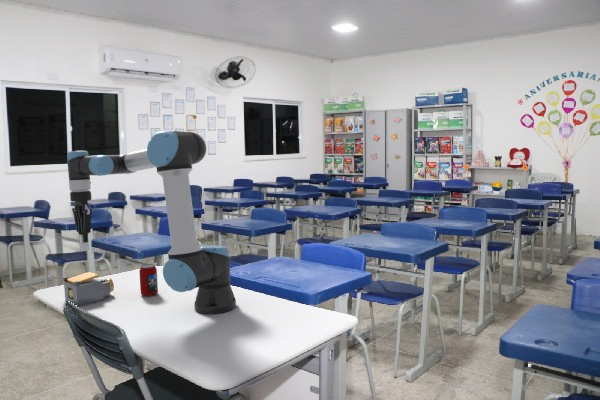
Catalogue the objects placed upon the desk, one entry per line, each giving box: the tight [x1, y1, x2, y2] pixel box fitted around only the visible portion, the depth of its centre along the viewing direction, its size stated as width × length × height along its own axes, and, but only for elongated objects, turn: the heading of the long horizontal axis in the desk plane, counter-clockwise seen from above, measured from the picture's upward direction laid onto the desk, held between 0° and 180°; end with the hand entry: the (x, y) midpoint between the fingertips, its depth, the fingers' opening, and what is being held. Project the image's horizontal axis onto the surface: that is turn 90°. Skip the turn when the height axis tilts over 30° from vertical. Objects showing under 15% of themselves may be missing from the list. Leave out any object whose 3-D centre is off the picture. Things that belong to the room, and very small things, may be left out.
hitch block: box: [62, 276, 111, 307], centre depth 193 cm, size 12×14×10 cm
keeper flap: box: [67, 271, 99, 284], centre depth 191 cm, size 8×9×1 cm
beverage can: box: [138, 263, 159, 297], centre depth 198 cm, size 7×7×12 cm
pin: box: [69, 277, 115, 298], centre depth 194 cm, size 16×6×6 cm, turn 137°
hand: (84, 250), depth 191 cm, fingers closed
